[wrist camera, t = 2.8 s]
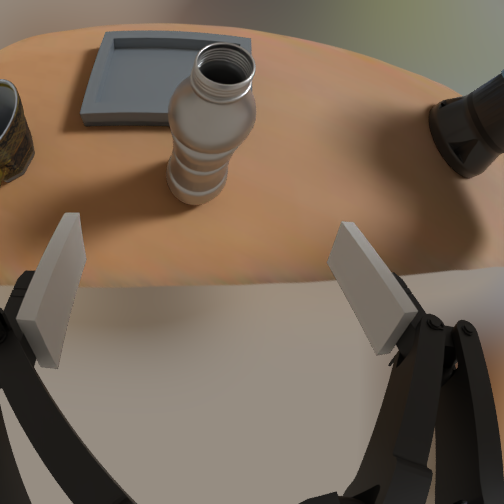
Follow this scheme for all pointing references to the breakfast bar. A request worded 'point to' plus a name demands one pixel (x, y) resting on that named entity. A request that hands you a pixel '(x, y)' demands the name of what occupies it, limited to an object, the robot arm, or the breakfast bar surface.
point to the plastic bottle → (209, 121)
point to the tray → (142, 75)
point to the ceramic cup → (13, 134)
